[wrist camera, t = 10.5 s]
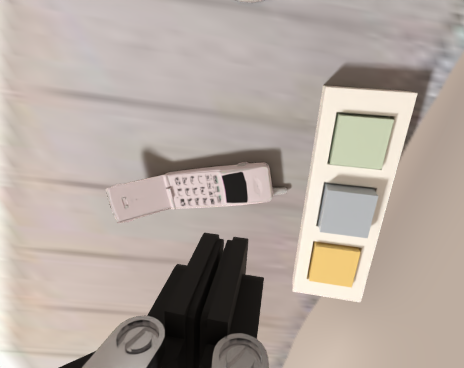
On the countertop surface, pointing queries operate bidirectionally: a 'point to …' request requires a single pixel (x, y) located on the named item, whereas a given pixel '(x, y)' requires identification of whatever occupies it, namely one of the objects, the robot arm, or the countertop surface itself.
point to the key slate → (347, 210)
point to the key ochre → (333, 264)
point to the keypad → (349, 181)
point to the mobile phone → (193, 190)
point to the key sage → (360, 140)
